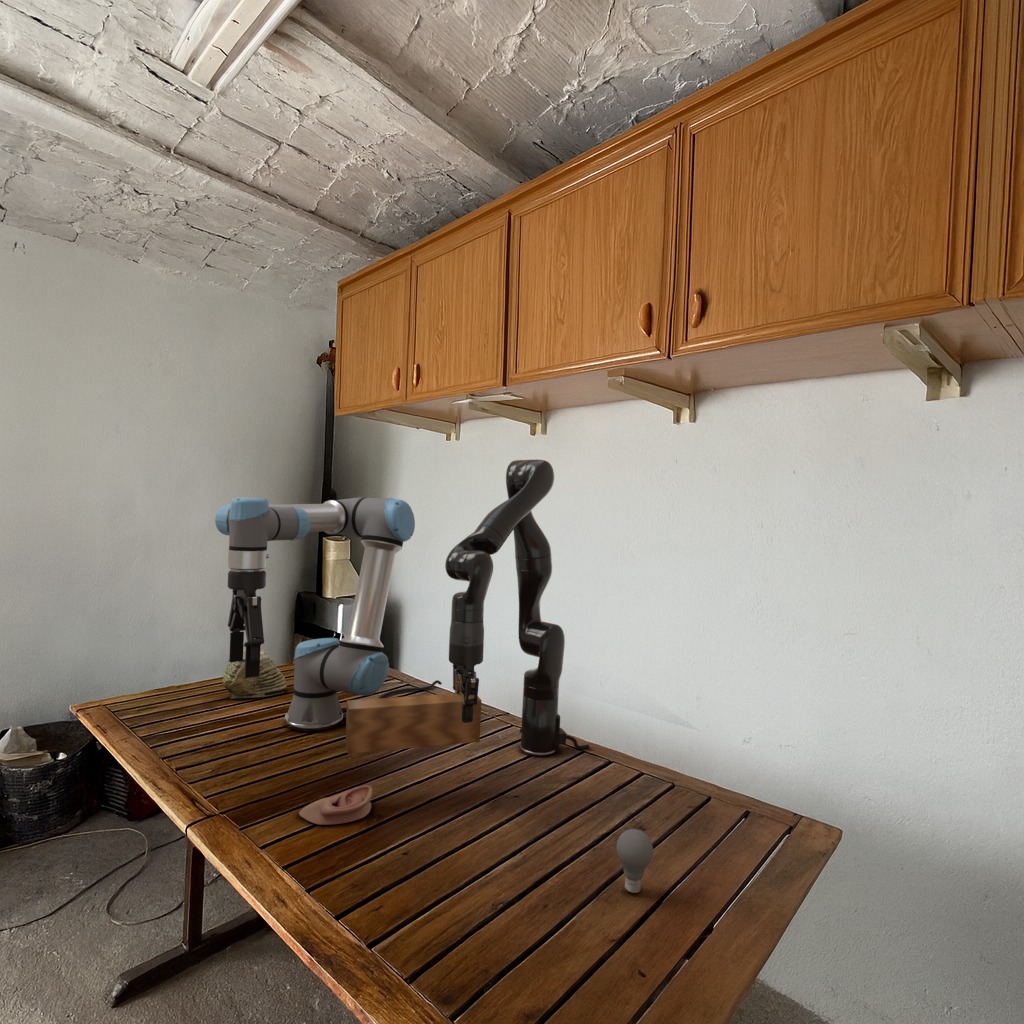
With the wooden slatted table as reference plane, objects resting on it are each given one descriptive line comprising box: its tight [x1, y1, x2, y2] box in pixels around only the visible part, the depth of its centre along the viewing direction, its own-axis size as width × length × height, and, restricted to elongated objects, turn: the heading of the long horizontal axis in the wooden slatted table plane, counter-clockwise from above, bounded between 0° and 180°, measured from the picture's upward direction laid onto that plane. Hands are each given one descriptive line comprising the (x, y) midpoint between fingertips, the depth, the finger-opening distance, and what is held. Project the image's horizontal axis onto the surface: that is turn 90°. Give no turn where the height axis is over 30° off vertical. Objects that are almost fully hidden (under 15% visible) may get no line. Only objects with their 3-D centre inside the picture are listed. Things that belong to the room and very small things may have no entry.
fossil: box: [222, 646, 288, 699], centre depth 198 cm, size 9×18×15 cm, turn 132°
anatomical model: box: [298, 784, 373, 826], centre depth 127 cm, size 13×4×12 cm
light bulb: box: [615, 828, 654, 894], centre depth 106 cm, size 6×6×10 cm
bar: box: [345, 693, 482, 755], centre depth 135 cm, size 28×6×9 cm, turn 108°
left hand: (243, 668), depth 136 cm, fingers open, 13 cm apart
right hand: (463, 716), depth 138 cm, fingers closed on bar, 5 cm apart
